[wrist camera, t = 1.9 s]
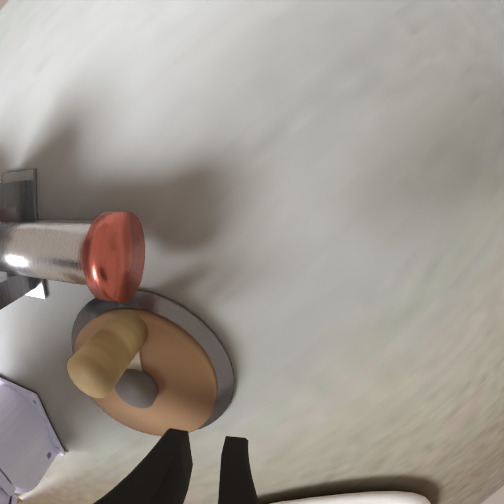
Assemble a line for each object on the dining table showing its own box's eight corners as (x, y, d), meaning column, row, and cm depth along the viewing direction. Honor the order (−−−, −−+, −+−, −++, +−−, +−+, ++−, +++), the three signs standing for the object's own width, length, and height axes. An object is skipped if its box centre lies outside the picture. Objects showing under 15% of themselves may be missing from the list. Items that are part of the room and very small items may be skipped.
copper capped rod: (146, 284, 16) (112, 318, 12) (-4, 264, 17) (-43, 282, 13) (143, 206, 15) (103, 220, 11) (-11, 208, 16) (-52, 219, 12)
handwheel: (218, 434, 20) (204, 500, 14) (97, 409, 20) (64, 461, 14) (217, 310, 17) (191, 377, 11) (69, 292, 18) (9, 334, 12)
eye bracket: (118, 309, 18) (58, 368, 11) (16, 290, 19) (-44, 327, 12) (110, 162, 16) (29, 163, 9) (4, 173, 16) (-67, 183, 10)
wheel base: (232, 439, 20) (232, 442, 20) (93, 411, 21) (91, 413, 21) (236, 298, 17) (235, 300, 17) (60, 280, 18) (58, 281, 18)
